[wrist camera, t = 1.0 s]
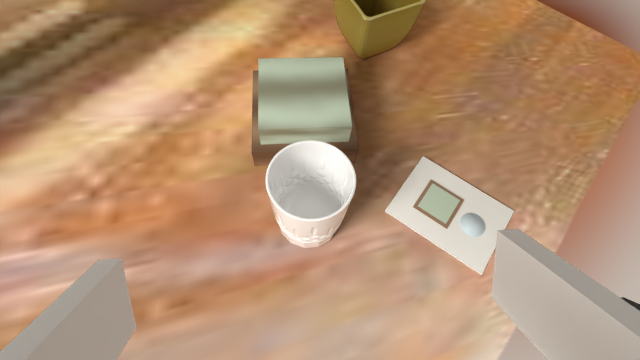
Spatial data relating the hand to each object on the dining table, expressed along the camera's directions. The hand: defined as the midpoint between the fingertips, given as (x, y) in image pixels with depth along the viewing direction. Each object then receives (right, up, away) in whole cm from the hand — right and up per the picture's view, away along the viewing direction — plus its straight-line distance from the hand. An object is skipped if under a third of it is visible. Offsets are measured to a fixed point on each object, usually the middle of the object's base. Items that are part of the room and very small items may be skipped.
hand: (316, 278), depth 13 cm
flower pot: (+7, +23, +41) cm, 47 cm away
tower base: (-2, +11, +34) cm, 35 cm away
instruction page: (+15, 0, +29) cm, 33 cm away
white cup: (-1, -1, +28) cm, 28 cm away
